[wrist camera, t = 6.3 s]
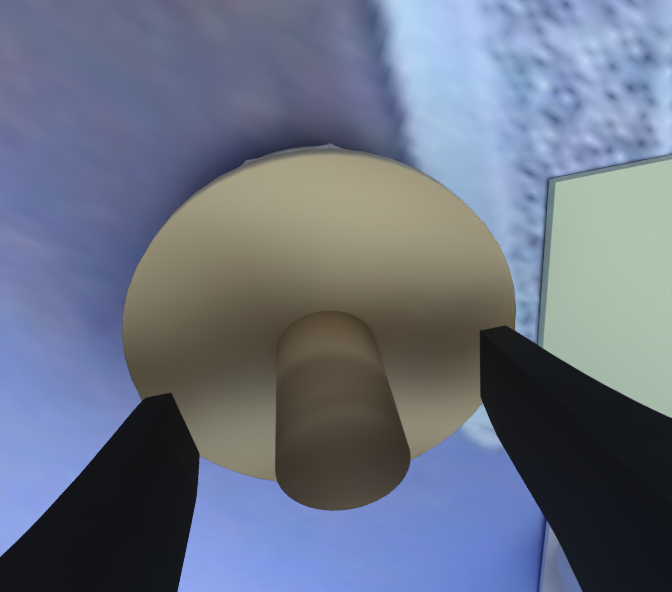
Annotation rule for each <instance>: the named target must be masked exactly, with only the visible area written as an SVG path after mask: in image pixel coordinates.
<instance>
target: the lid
mask: <svg viewBox="0 0 672 592" xmlns="http://www.w3.org/2000/svg"><path fill="white" fill-rule="evenodd" d="M515 316H516V303H515V293H514V285H513V282H512V278H511V274H510V270H509V267H508V264H507V262H506V259H505V257H504V255H503V253H502V251H501V248H500V246H499V244H498V243H497V241H496V240H495V238H494V237H493V235H492V234H491V232H490V231H489V229H488V228H487V226H486V225H485V224H484V223H483V222H482V220H481V219H480V218H479V217H478V216H477V215H476V214H475V213H474V212H473V211H472V210H471V209H470V208H469V206H467V205H466V204H465V203H464V202H463V201H462V200H461V199H460V198H459V197H457V196H456V195H455V194H454V193H452V192H451V191H450V190H449V189H447V188H446V187H445V186H444V185H442V184H441V183H440V182H438V181H437V180H435V179H434V178H432V177H430V176H428V175H427V174H425V173H423V172H421V171H420V170H418V169H416V168H414V167H412V166H409V165H407V164H404V163H402V162H399V161H396V160H394V159H391V158H389V157H384V156H380V155H376V154H372V153H367V152H363V151H355V150H345V149H334V148H328V149H304V150H297V151H292V152H286V153H281V154H275V155H271V156H268V157H265V158H262V159H259V160H256V161H253V162H249V163H246V164H244V165H242V166H240V167H238V168H236V169H233V170H231V171H229V172H227V173H225V174H223V175H221V176H219V177H217V178H216V179H214V180H213V181H211V182H210V183H208V184H207V185H206V186H204V187H203V188H201V189H200V190H198V191H197V192H195V193H194V194H193V195H192V196H191V197H190V198H188V199H187V200H186V201H185V202H184V203H183V204H182V205H181V206H180V207H179V208H177V209H176V210H175V211H174V213H173V214H172V215H171V216H170V217H169V219H168V220H167V221H166V222H165V224H164V225H163V226H162V227H161V228H160V230H159V231H158V233H157V234H156V236H155V237H154V239H153V240H152V242H151V244H150V245H149V247H148V249H147V250H146V252H145V254H144V255H143V257H142V259H141V261H140V262H139V264H138V266H137V268H136V270H135V273H134V275H133V278H132V281H131V283H130V286H129V288H128V292H127V297H126V301H125V306H124V311H123V330H122V338H123V346H124V353H125V359H126V363H127V366H128V369H129V372H130V376H131V379H132V381H133V383H134V385H135V387H136V389H137V391H138V393H139V395H140V397H141V399H142V401H143V399H144V398H146V397H151V396H156V395H161V394H166V393H172V395H173V397H174V399H175V401H176V404H177V406H178V408H179V410H180V412H181V414H182V417H183V419H184V421H185V423H186V425H187V427H188V429H189V432H190V434H191V436H192V438H193V440H194V442H195V444H196V447H197V449H198V451H199V453H200V456H201V457H203V458H205V459H207V460H209V461H211V462H213V463H215V464H217V465H219V466H222V467H224V468H227V469H230V470H232V471H235V472H237V473H241V474H244V475H248V476H252V477H255V478H259V479H265V480H271V481H277V482H278V484H279V486H280V487H281V489H282V490H283V491H284V492H285V493H286V494H287V495H288V496H289V497H290V498H292V499H293V500H295V501H296V502H298V503H300V504H302V505H305V506H308V507H311V508H315V509H321V510H348V509H353V508H358V507H362V506H365V505H368V504H370V503H373V502H375V501H377V500H379V499H381V498H383V497H384V496H386V495H387V494H389V493H390V492H391V491H393V490H394V489H395V488H396V487H397V486H398V485H399V484H400V482H401V481H402V480H403V478H404V477H405V475H406V473H407V471H408V469H409V465H410V460H411V459H413V458H416V457H418V456H420V455H421V454H423V453H425V452H426V451H428V450H430V449H431V448H433V447H435V446H436V445H438V444H439V443H441V442H442V441H443V440H445V439H446V438H447V437H449V436H450V435H451V434H453V433H454V432H455V431H456V430H457V429H458V428H459V427H460V426H462V425H463V424H464V423H465V422H466V421H467V420H468V419H469V418H470V417H471V416H472V415H473V414H474V412H475V411H476V410H477V409H478V408H479V407H480V405H481V404H482V403H483V402H482V400H481V397H480V330H485V329H490V328H495V327H500V326H505V325H506V326H508V327H509V328H511V329H513V330H515Z"/></svg>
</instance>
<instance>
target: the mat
mask: <svg viewBox="0 0 672 592" xmlns="http://www.w3.org/2000/svg"><path fill="white" fill-rule="evenodd" d="M538 346H540V347H542V348H543V349H545V350H547V351H548V352H550V353H551V354H553V355H555V356H556V357H558V358H560V359H561V360H563V361H565V362H566V363H568V364H570V365H571V366H573V367H575V368H576V369H578V370H580V371H581V372H583V373H585V374H587V375H588V376H590V377H592V378H594V379H595V380H597V381H599V382H601V383H603V384H604V385H606V386H608V387H610V388H612V389H614V390H616V391H618V392H620V393H622V394H623V395H625V396H627V397H629V398H631V399H633V400H635V401H637V402H639V403H641V404H643V405H645V406H647V407H649V408H651V409H653V410H655V411H657V412H660V413H662V414H664V415H666V416H669V417H672V155H668V156H662V157H657V158H652V159H647V160H642V161H637V162H632V163H627V164H622V165H617V166H612V167H607V168H602V169H597V170H592V171H587V172H582V173H577V174H572V175H567V176H562V177H557V178H552V179H549V190H548V204H547V218H546V233H545V247H544V261H543V276H542V290H541V305H540V319H539V333H538Z"/></svg>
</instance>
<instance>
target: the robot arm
mask: <svg viewBox="0 0 672 592" xmlns="http://www.w3.org/2000/svg"><path fill="white" fill-rule="evenodd" d="M480 397H481V400H482V402H483V404H484V407H485V409H486V412H487V414H488V416H489V419H490V421H491V423H492V425H493V428H494V430H495V432H496V434H497V436H498V438H499V440H500V442H501V443H502V445H503V447H504V449H505V450H506V452H507V454H508V455H509V457H510V459H511V461H512V462H513V464H514V466H515V467H516V469H517V471H518V472H519V474H520V476H521V478H522V479H523V481H524V483H525V484H526V486H527V488H528V489H529V491H530V493H531V494H532V496H533V498H534V499H535V501H536V503H537V505H538V506H539V508H540V510H541V511H542V513H543V515H544V516H545V518H546V520H547V522H546V531H545V541H544V550H543V559H542V568H541V578H540V587H539V592H672V418H671V417H669V416H666V415H664V414H662V413H660V412H657V411H655V410H653V409H651V408H649V407H647V406H645V405H643V404H641V403H639V402H637V401H635V400H633V399H631V398H629V397H627V396H625V395H623V394H622V393H620V392H618V391H616V390H614V389H612V388H610V387H608V386H606V385H604V384H603V383H601V382H599V381H597V380H595V379H594V378H592V377H590V376H588V375H587V374H585V373H583V372H581V371H580V370H578V369H576V368H575V367H573V366H571V365H570V364H568V363H566V362H565V361H563V360H561V359H560V358H558V357H556V356H555V355H553V354H551V353H550V352H548V351H547V350H545V349H543V348H542V347H540V346H538V345H537V344H535V343H534V342H532V341H531V340H529V339H527V338H526V337H524V336H523V335H521V334H519V333H518V332H516V331H514V330H513V329H511V328H509V327H508V326H506V325H505V326H500V327H495V328H490V329H485V330H480ZM199 456H200V453H199V451H198V449H197V447H196V444H195V442H194V440H193V438H192V436H191V434H190V432H189V429H188V427H187V425H186V423H185V421H184V419H183V417H182V414H181V412H180V410H179V408H178V406H177V404H176V401H175V399H174V397H173V395H172V393H166V394H161V395H156V396H151V397H146V398H144V399H143V401H142V402H141V403H140V404H139V405H138V406H137V407H136V408H135V410H134V411H133V412H132V413H131V414H130V415H129V417H128V418H127V419H126V420H125V421H124V423H123V424H122V425H121V426H120V427H119V429H118V430H117V431H116V432H115V433H114V435H113V436H112V437H111V438H110V439H109V441H108V442H107V443H106V444H105V445H104V446H103V448H102V449H101V450H100V451H99V452H98V454H97V455H96V456H95V457H94V458H93V459H92V461H91V462H90V463H89V464H88V465H87V466H86V468H85V469H84V470H83V471H82V472H81V473H80V475H79V476H78V477H77V478H76V479H75V480H74V481H73V482H72V483H71V484H70V486H69V487H68V488H67V489H66V490H65V491H64V492H63V493H62V494H61V495H60V496H59V498H58V499H57V500H56V501H55V502H54V503H53V504H52V505H51V506H50V507H49V509H48V510H47V511H46V512H45V513H44V514H43V515H42V516H41V517H40V518H39V519H38V520H37V521H36V522H35V523H34V524H33V525H32V527H31V528H30V529H29V530H28V531H27V532H26V533H25V534H24V535H23V536H22V537H21V538H20V539H19V540H18V541H17V542H16V543H15V544H13V545H12V546H11V547H10V548H9V549H8V550H7V551H6V552H5V553H4V554H3V555H2V556H1V557H0V592H177V591H178V586H179V581H180V577H181V572H182V567H183V562H184V557H185V552H186V547H187V543H188V538H189V533H190V528H191V523H192V518H193V513H194V508H195V502H196V497H197V486H198V474H199Z"/></svg>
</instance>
